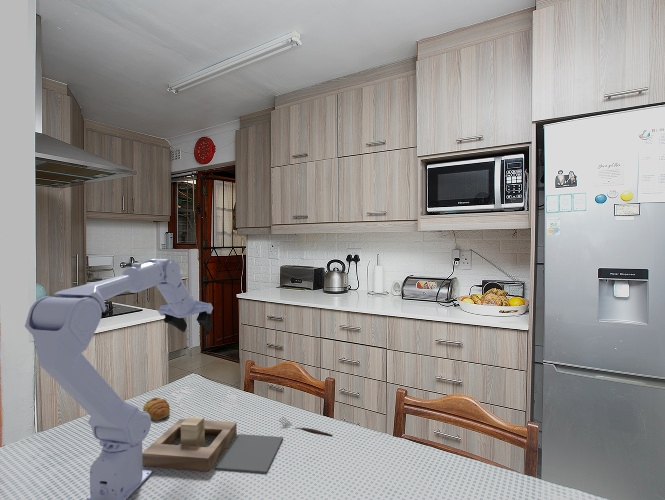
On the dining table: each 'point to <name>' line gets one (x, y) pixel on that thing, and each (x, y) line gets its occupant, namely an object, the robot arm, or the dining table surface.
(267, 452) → the mat
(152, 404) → the pastry
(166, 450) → the wooden square frame
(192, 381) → the dining table surface
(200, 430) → the block
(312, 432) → the fork
